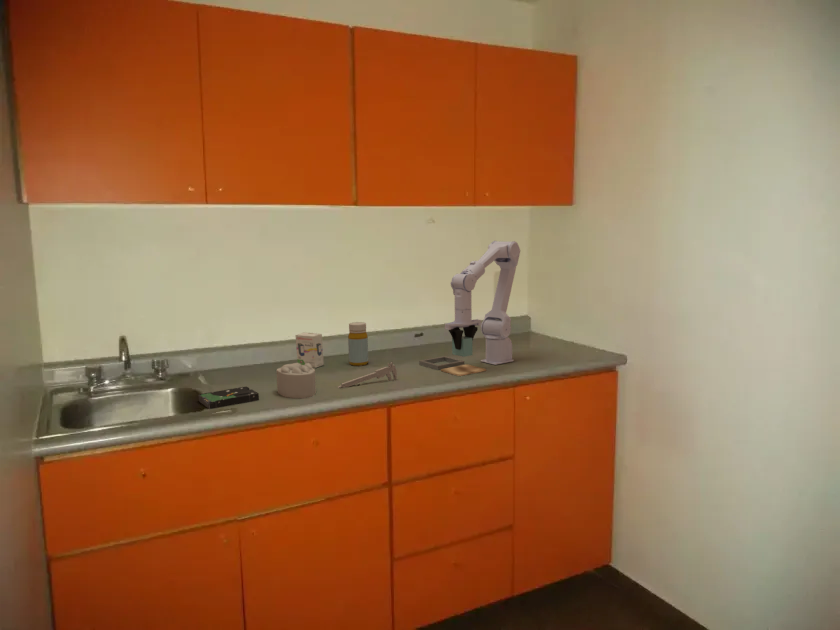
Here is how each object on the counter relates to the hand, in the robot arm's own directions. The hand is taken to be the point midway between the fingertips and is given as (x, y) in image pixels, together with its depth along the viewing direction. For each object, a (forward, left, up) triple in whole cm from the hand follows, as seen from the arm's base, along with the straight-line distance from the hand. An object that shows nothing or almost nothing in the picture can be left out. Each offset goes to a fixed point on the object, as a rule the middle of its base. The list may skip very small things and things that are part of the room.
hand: (463, 348), depth 221 cm
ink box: (+37, -42, -8) cm, 57 cm away
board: (0, 0, -8) cm, 8 cm away
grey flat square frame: (0, -12, -8) cm, 14 cm away
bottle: (+22, -33, -8) cm, 40 cm away
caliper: (+35, -7, -8) cm, 36 cm away
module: (0, -1, -2) cm, 2 cm away
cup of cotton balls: (+57, -11, -8) cm, 59 cm away
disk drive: (+77, -16, -9) cm, 79 cm away
